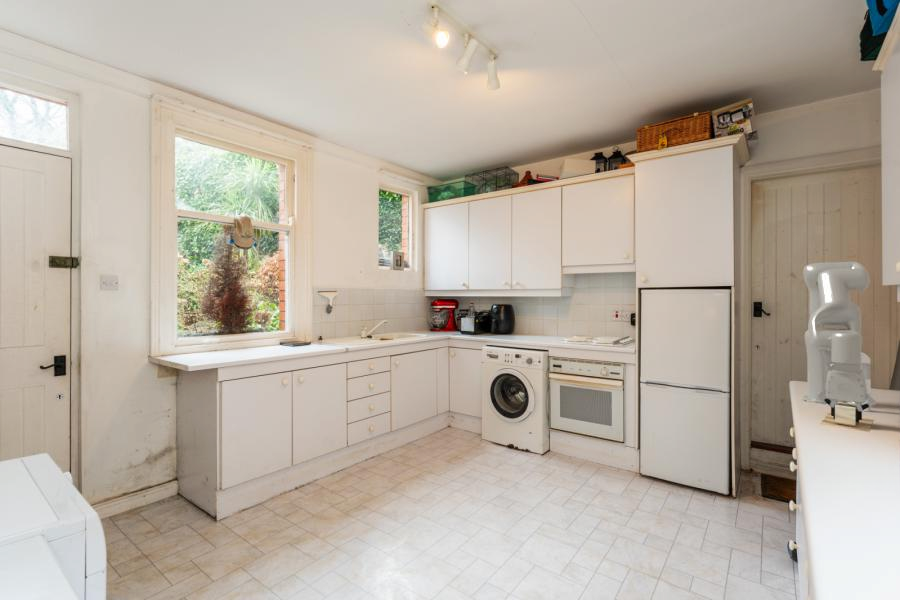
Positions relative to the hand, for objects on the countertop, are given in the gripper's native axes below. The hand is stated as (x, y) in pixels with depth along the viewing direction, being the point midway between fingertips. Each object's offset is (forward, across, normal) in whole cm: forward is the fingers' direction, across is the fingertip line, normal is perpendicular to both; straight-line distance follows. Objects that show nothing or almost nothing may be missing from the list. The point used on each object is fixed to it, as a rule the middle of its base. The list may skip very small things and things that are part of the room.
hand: (846, 419), depth 145 cm
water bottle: (+3, +1, +28) cm, 29 cm away
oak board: (+2, 0, +4) cm, 5 cm away
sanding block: (+1, 0, 0) cm, 1 cm away
